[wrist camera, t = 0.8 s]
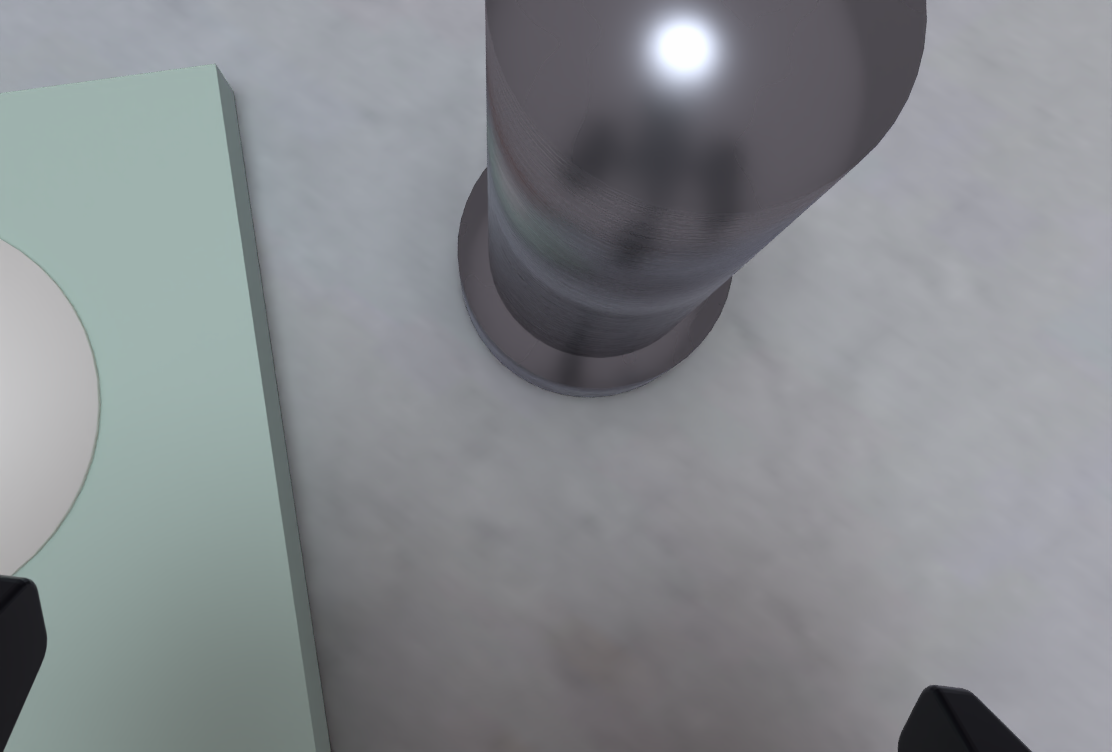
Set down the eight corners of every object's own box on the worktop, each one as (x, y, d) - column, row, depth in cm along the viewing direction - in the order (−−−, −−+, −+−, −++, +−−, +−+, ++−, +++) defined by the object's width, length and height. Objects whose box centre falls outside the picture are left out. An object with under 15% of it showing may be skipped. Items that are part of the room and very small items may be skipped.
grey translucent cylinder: (735, 373, 23) (1045, 227, 10) (483, 418, 22) (474, 321, 10) (686, 132, 24) (917, -292, 11) (441, 169, 23) (377, -232, 10)
